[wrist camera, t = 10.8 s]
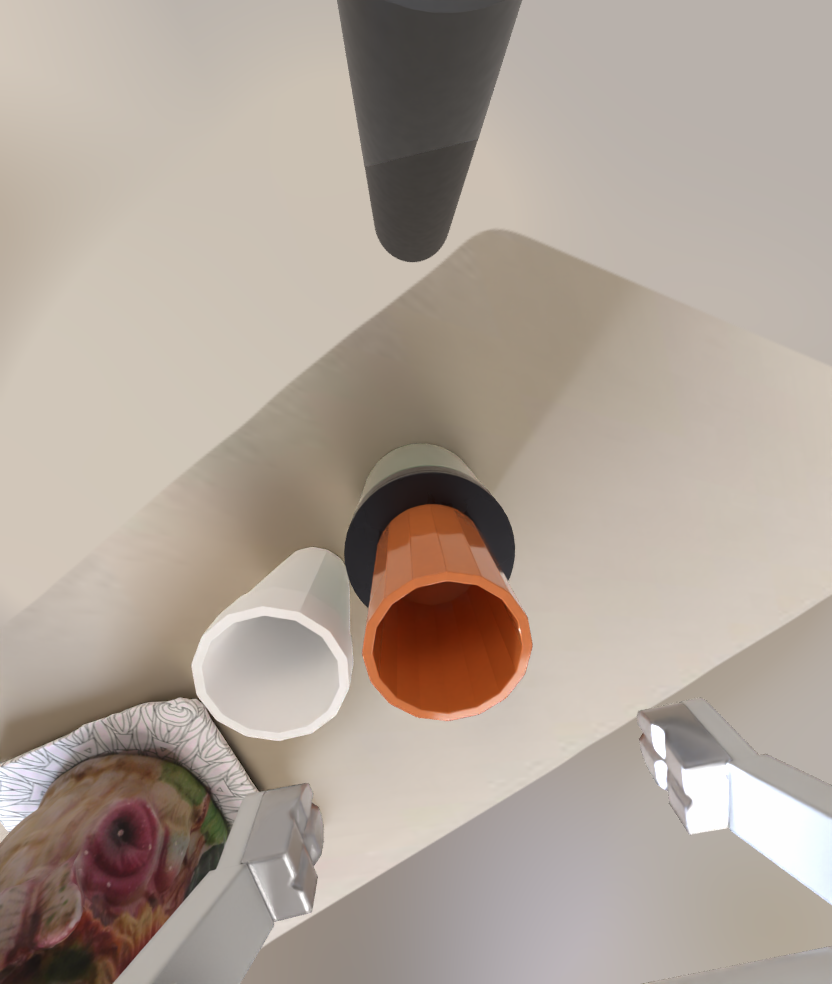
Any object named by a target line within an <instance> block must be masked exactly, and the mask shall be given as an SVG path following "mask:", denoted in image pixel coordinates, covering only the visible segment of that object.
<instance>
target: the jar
mask: <svg viewBox="0 0 832 984" xmlns="http://www.w3.org/2000/svg"><path fill="white" fill-rule="evenodd" d="M419 466H440V467H446V468H450V469H454V470H457V471H459V472H462V473H464V474H466V475H468V476H470V477H472V478H473V479H475V480H476V481H478V482H479V483H480V484H482V483H481V482H480V481H479V480H478V478H477V477H476V476H475V475H474V474H473V472H472V471H471V470H470V469H469V467H468V466H467V465H466V464H465V463H464V461H463V460H461V459H460V458H459V457H458V456H457V455H456V454H454V453H453V452H451V451H449V450H447V449H446V448H443V447H440V446H437V445H433V444H425V443H416V444H409V445H405V446H402V447H399V448H397V449H395V450H393V451H391V452H389V453H388V454H386V455H385V456H384V457H383V458H381V459H380V460H379V461H378V463H377V464H376V465H375V466H374V467H373V469H372V470H371V472H370V474H369V476H368V478H367V480H366V483H365V486H364V489H363V492H362V494H361V497H360V500H359V503H358V505H359V504H360V502H361V501H362V499H363V498H364V497H365V495H366V494H367V493H368V492H369V491H370V490H371V489H372V488H373V487H374V486H375V485H377V484H378V483H379V482H380V481H382V480H383V479H385V478H387V477H388V476H390V475H392V474H394V473H397V472H399V471H402V470H405V469H408V468H413V467H419ZM357 507H358V506H357ZM356 509H357V508H356Z"/></svg>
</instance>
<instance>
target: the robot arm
mask: <svg viewBox="0 0 832 984" xmlns="http://www.w3.org/2000/svg"><path fill="white" fill-rule="evenodd" d="M637 723H638V725H639V727H640V728H641V730H642V731H643V734H642V735H641V737H640V738H639V741H640V748H641V752H642V755H643V758H644V761H645V764H646V766H647V768H648V770H649V772H650V774H651V775H652V777H653V779H654V780H655V782H656V783H657V784H658V785H659V786H661V787H662V788H664V789H665V790H667V791H668V796H669V804H670V806H671V807H672V809H673V810H674V812H675V813H676V815H677V816H678V818H679V820H680V821H681V823H682V824H683V826H684V827H685V829H686V830H687V832H688V834H695V833H701V832H706V831H712V830H718V829H724V828H730V831H732V832H734V833H735V834H736V835H737V836H739V837H740V838H741V839H743V840H744V841H745V842H747V843H748V844H750V845H751V846H752V847H754V848H755V849H756V850H758V851H759V852H760V853H762V854H763V855H764V856H766V857H767V858H768V859H770V860H771V861H773V862H774V863H775V864H777V865H778V866H779V867H781V868H782V869H784V870H785V871H786V872H787V873H789V874H790V875H792V876H793V877H794V878H796V879H797V880H799V881H800V882H801V883H803V884H804V885H805V886H807V887H808V888H809V889H811V890H812V891H813V892H815V893H816V894H817V895H819V896H820V897H821V898H823V899H824V900H826V901H827V902H828V903H830V904H831V905H832V785H830V784H828V783H826V782H824V781H822V780H820V779H818V778H816V777H814V776H812V775H809V774H807V773H805V772H803V771H801V770H799V769H797V768H795V767H793V766H791V765H788V764H786V763H784V762H782V761H780V760H778V759H776V758H774V757H772V756H770V755H768V754H762V755H759V754H758V753H757V752H756V751H755V750H754V749H753V748H752V747H751V746H750V745H749V744H748V743H747V742H746V741H745V740H744V739H743V738H742V737H741V736H740V735H739V734H738V733H737V732H736V730H735V729H734V728H733V727H732V726H731V725H730V724H729V723H728V722H727V721H726V720H725V719H724V718H723V717H722V716H721V715H720V714H719V713H718V712H717V711H716V710H715V709H714V708H713V707H712V706H711V705H710V704H709V703H708V702H707V700H705V699H703V698H701V697H700V698H695V699H691V700H686V701H681V702H679V703H678V702H676V703H671V704H667V705H663V706H658V707H654V708H650V709H645V710H641V711H638V714H637ZM312 798H313V791H312V789H311V787H310V784H309V783H304V784H298V785H293V786H287V787H282V788H277V789H271V790H267V791H262V792H257V793H252V794H247V795H246V797H245V798H244V799H243V800H242V802H241V805H240V807H239V810H238V813H237V815H236V818H235V821H234V823H233V826H232V829H231V831H230V834H229V836H228V839H227V842H226V844H225V847H224V850H223V852H222V855H221V858H220V860H219V863H218V866H217V868H216V870H212V871H209V872H208V874H207V875H206V876H205V877H204V878H203V879H202V881H201V882H200V883H199V884H198V885H197V886H196V888H195V889H194V890H193V891H192V892H191V893H190V894H189V896H188V897H187V898H186V899H185V900H184V901H183V903H182V904H181V905H180V906H179V907H178V908H177V910H176V911H175V912H174V913H173V914H172V915H171V917H170V918H169V919H168V920H167V921H166V922H165V923H164V925H163V926H162V927H161V928H160V929H159V930H158V932H157V933H156V934H155V935H154V936H153V937H152V939H151V940H150V941H149V942H148V943H147V944H146V946H145V947H144V948H143V949H142V950H141V951H140V952H139V954H138V955H137V956H136V957H135V958H134V959H133V961H132V962H131V963H130V964H129V965H128V966H127V968H126V969H125V970H124V971H123V972H122V973H121V974H120V976H119V977H118V978H117V979H116V980H115V981H114V983H113V984H240V983H241V982H242V980H243V978H244V976H245V975H246V973H247V971H248V970H249V968H250V966H251V964H252V963H253V961H254V959H255V957H256V956H257V954H258V952H259V950H260V949H261V947H262V945H263V944H264V942H265V940H266V938H267V937H268V935H269V933H270V931H271V930H272V928H273V926H274V922H275V921H279V920H284V919H288V918H292V917H296V916H300V915H304V914H308V913H312V908H313V902H314V896H315V890H316V884H317V878H318V877H317V874H316V871H315V869H314V865H315V864H316V862H317V861H318V859H319V858H320V856H321V854H322V848H323V820H322V815H321V812H320V809H319V807H318V806H316V805H314V804H313V803H312ZM643 984H832V946H829V947H824V948H819V949H814V950H809V951H804V952H799V953H794V954H789V955H784V956H779V957H774V958H769V959H764V960H759V961H754V962H749V963H744V964H739V965H734V966H729V967H724V968H719V969H714V970H709V971H704V972H699V973H693V974H688V975H684V976H678V977H673V978H668V979H663V980H658V981H653V982H648V983H643Z"/></svg>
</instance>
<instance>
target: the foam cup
mask: <svg viewBox="0 0 832 984" xmlns="http://www.w3.org/2000/svg"><path fill="white" fill-rule="evenodd" d="M353 664H354V662H353V648H352V635H351V634H350V587H349V578H348V575H347V571H346V566H345V565H344V563H343V561H342V560H341V558H339V557H338V556H336V555H335V554H333V553H332V552H330V551H329V550H327V549H322V548H316V547H309V548H305V549H301V550H297V551H295V552H294V553H293V554H292V555H290V556H289V557H288V558H287V559H286V560H284V561H283V562H282V563H281V564H280V565H279V566H277V567H276V568H275V569H274V570H273V571H272V572H271V573H270V574H269V575H267V576H266V577H265V578H264V579H263V580H262V581H261V582H260V583H258V584H257V585H256V586H255V587H254V588H253V589H252V590H251V591H249V592H248V593H247V594H244V595H242V596H241V597H239V598H238V599H237V600H236V601H235V602H233V603H232V604H231V605H230V606H229V607H227V608H226V609H225V610H224V611H223V612H221V613H220V614H219V615H218V616H217V618H216V619H215V620H214V621H213V623H212V624H211V625H210V626H209V628H208V629H207V630H206V632H205V633H204V634H203V635H202V637H201V640H200V643H199V645H198V648H197V651H196V653H195V656H194V659H193V661H192V664H191V667H192V672H193V678H194V683H195V689H196V694H197V696H198V697H199V699H200V700H201V701H202V702H203V704H204V705H205V706H206V708H207V709H208V710H209V711H210V713H211V714H212V715H213V717H214V718H215V719H216V720H217V721H219V722H221V723H222V724H224V725H226V726H228V727H230V728H232V729H233V730H235V731H237V732H239V733H241V734H242V735H244V736H247V737H254V738H261V739H269V740H276V741H282V740H286V739H290V738H294V737H299V736H303V735H307V734H311V733H313V732H314V731H316V730H317V729H318V728H320V727H321V726H322V725H324V724H325V723H326V722H328V721H329V720H330V719H332V718H333V717H334V716H336V715H337V713H338V711H339V709H340V707H341V705H342V703H343V700H344V698H345V696H346V694H347V692H348V690H349V688H350V682H351V676H352V670H353Z"/></svg>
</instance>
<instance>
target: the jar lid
mask: <svg viewBox="0 0 832 984" xmlns="http://www.w3.org/2000/svg"><path fill="white" fill-rule="evenodd" d="M426 504H438V505H444V506H449V507H451V508H454V509H456V510H458V511H460V512H462V513H463V514H465V515H466V516H468V517H469V518H470V519H471V520H472V521H473V522H474V524H475V525H476V526H477V528H478V529H479V531H480V532H481V534H482V535H483V537H484V538H485V540H486V542H487V544H488V545H489V547H490V549H491V551H492V553H493V555H494V556H495V558H496V560H497V562H498V564H499V566H500V567H501V569H502V571H503V573H504V575H505V577H506V578H507V580H509V578H510V575H511V572H512V569H513V564H514V558H515V543H514V535H513V531H512V527H511V525H510V522H509V520H508V517H507V515H506V514H505V512H504V510H503V509H502V507H501V506H500V505H499V503H498V502H497V501H496V500H495V498H494V497H493V496H492V495H491V493H490V492H489V491H488V490H487V489H486V488H485V487H484V486H483V485H482V484H480V483H479V482H478V481H476V480H475V479H473V478H472V477H470V476H468V475H466V474H464V473H462V472H459V471H457V470H454V469H450V468H446V467H440V466H419V467H413V468H408V469H405V470H402V471H399V472H397V473H394V474H392V475H390V476H388V477H387V478H385V479H383V480H382V481H380V482H379V483H378V484H377V485H375V486H374V487H373V488H372V489H371V490H370V491H369V492H368V493H367V494H366V495H365V497H364V498H363V499H362V501H361V502H360V504H359V505H358V507H357V509H356V511H355V513H354V515H353V518H352V521H351V524H350V527H349V529H348V532H347V536H346V541H345V551H344V556H345V566H346V571H347V575H348V578H349V580H350V583H351V585H352V587H353V589H354V591H355V593H356V594H357V595H358V597H359V598H360V600H361V601H362V602H363V603H364V604H365V605H366V606H367V607H369V600H370V593H371V586H372V580H373V573H374V566H375V559H376V553H377V546H378V542H379V540H380V537H381V535H382V533H383V531H384V529H385V528H386V527H387V525H388V524H389V523H390V522H391V521H392V520H393V519H394V518H395V517H397V516H398V515H399V514H401V513H402V512H404V511H406V510H408V509H410V508H413V507H416V506H420V505H426Z"/></svg>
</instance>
